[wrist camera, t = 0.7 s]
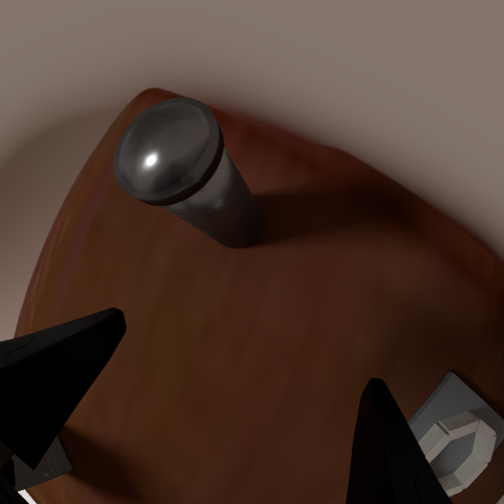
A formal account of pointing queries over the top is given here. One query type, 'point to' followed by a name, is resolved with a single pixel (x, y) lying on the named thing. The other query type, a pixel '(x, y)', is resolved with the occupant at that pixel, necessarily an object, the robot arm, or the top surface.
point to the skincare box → (42, 467)
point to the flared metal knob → (188, 171)
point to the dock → (456, 433)
